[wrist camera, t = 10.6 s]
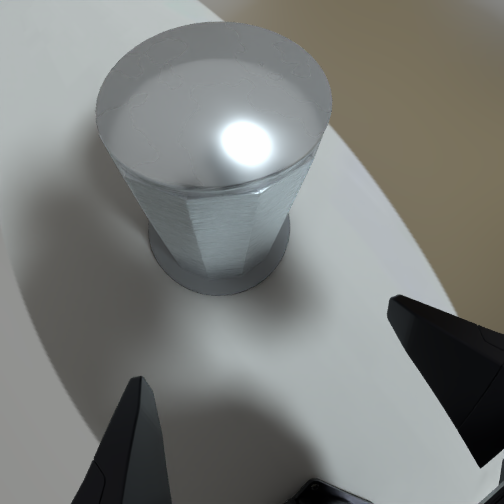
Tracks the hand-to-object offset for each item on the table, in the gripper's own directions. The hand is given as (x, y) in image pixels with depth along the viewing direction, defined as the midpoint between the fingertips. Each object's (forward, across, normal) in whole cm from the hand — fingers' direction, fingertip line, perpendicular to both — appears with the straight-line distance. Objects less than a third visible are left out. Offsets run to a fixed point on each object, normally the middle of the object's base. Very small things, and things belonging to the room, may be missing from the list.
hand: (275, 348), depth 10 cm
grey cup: (+11, 0, 0) cm, 11 cm away
